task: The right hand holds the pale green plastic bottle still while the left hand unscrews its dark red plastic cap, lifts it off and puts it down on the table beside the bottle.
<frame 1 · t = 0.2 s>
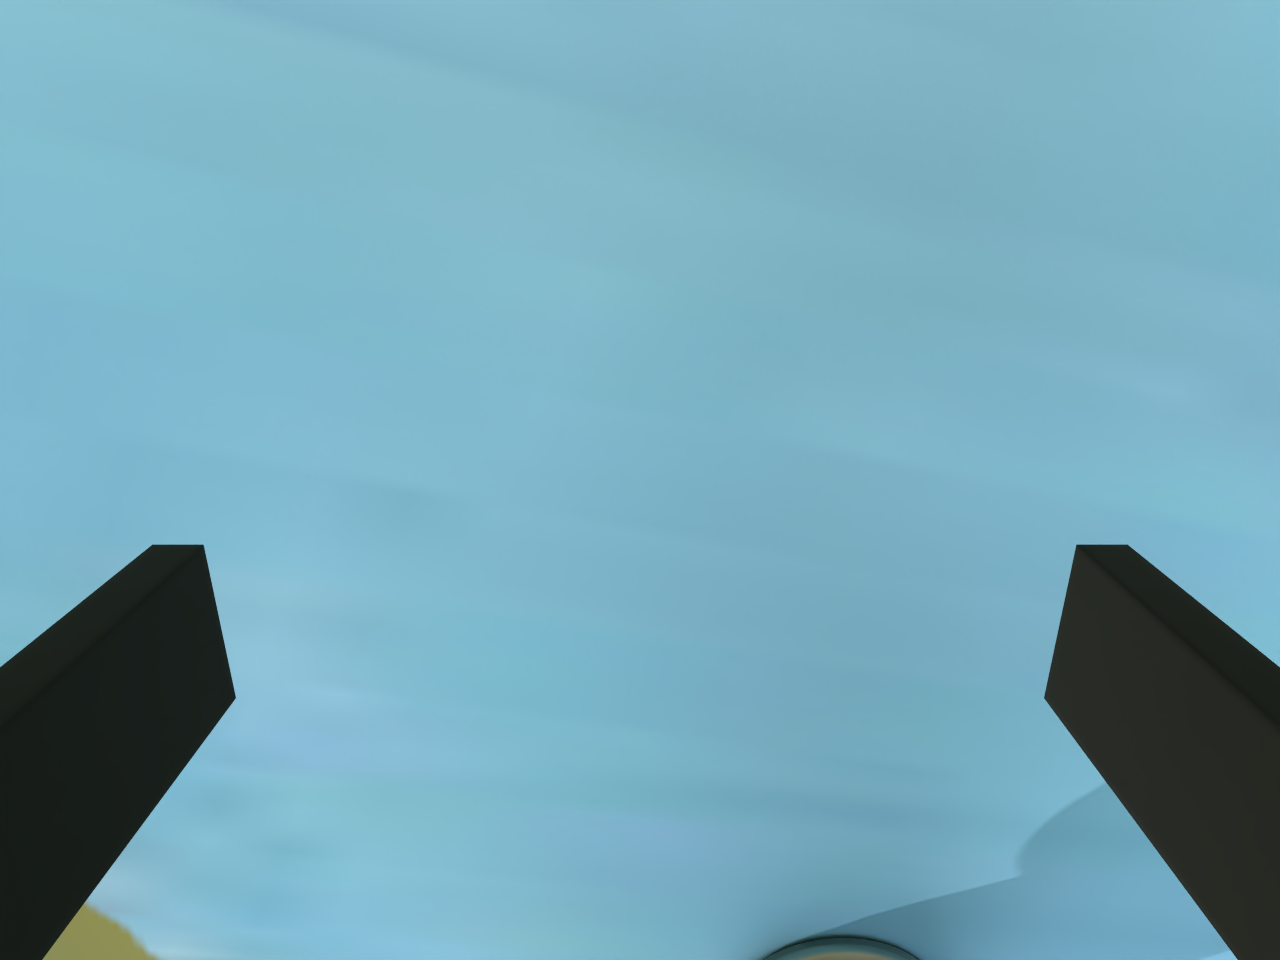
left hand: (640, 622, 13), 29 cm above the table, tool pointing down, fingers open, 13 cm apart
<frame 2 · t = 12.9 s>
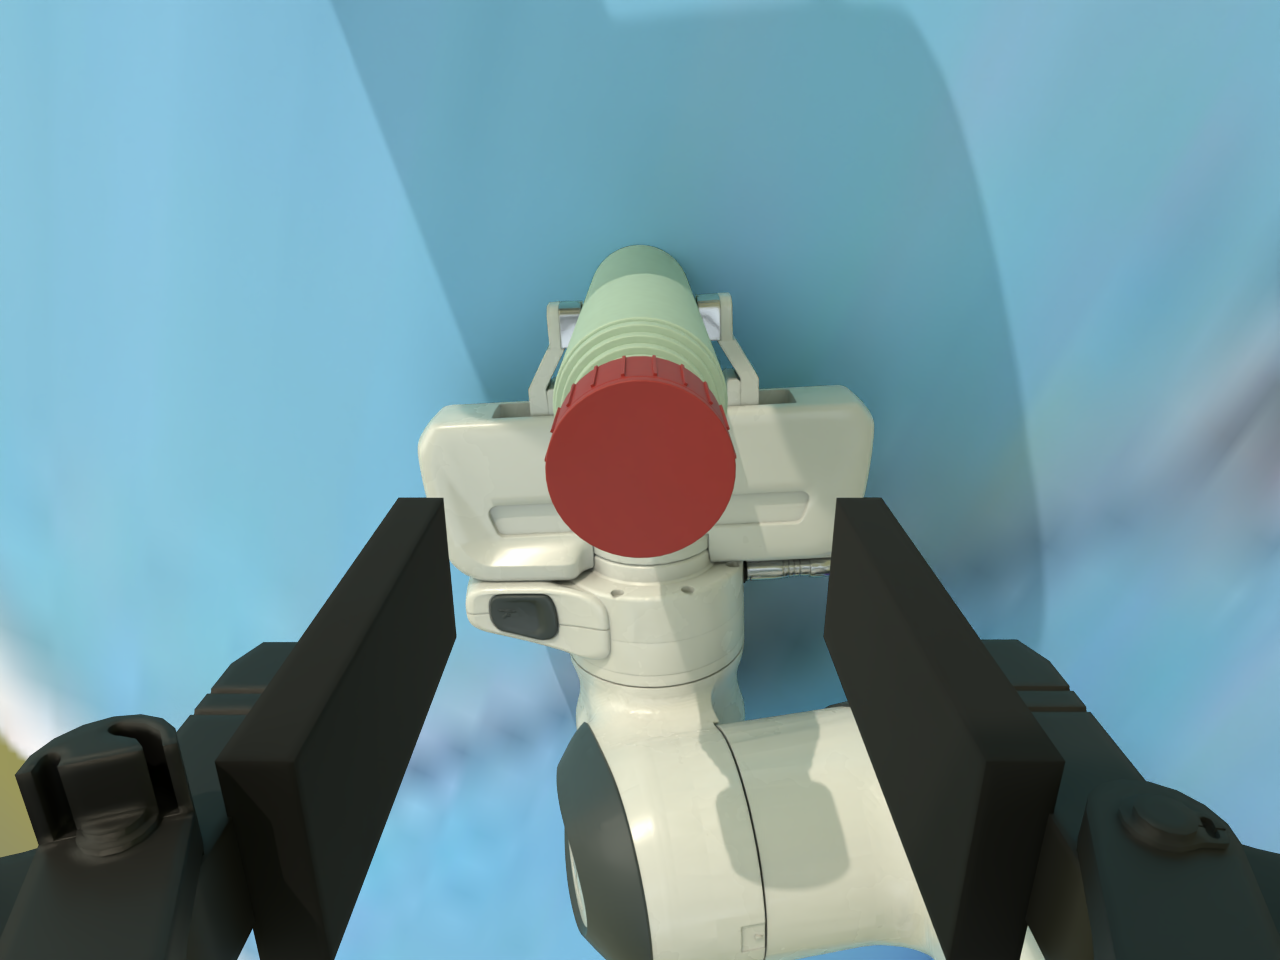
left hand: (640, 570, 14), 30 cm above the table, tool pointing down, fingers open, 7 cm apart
right hand: (637, 298, 36), fingers closed on bottle, 5 cm apart
cap: (640, 468, 19), point 25 cm above the table, screwed on, not yet turned
bottle: (639, 296, 42), on the table, touching right hand
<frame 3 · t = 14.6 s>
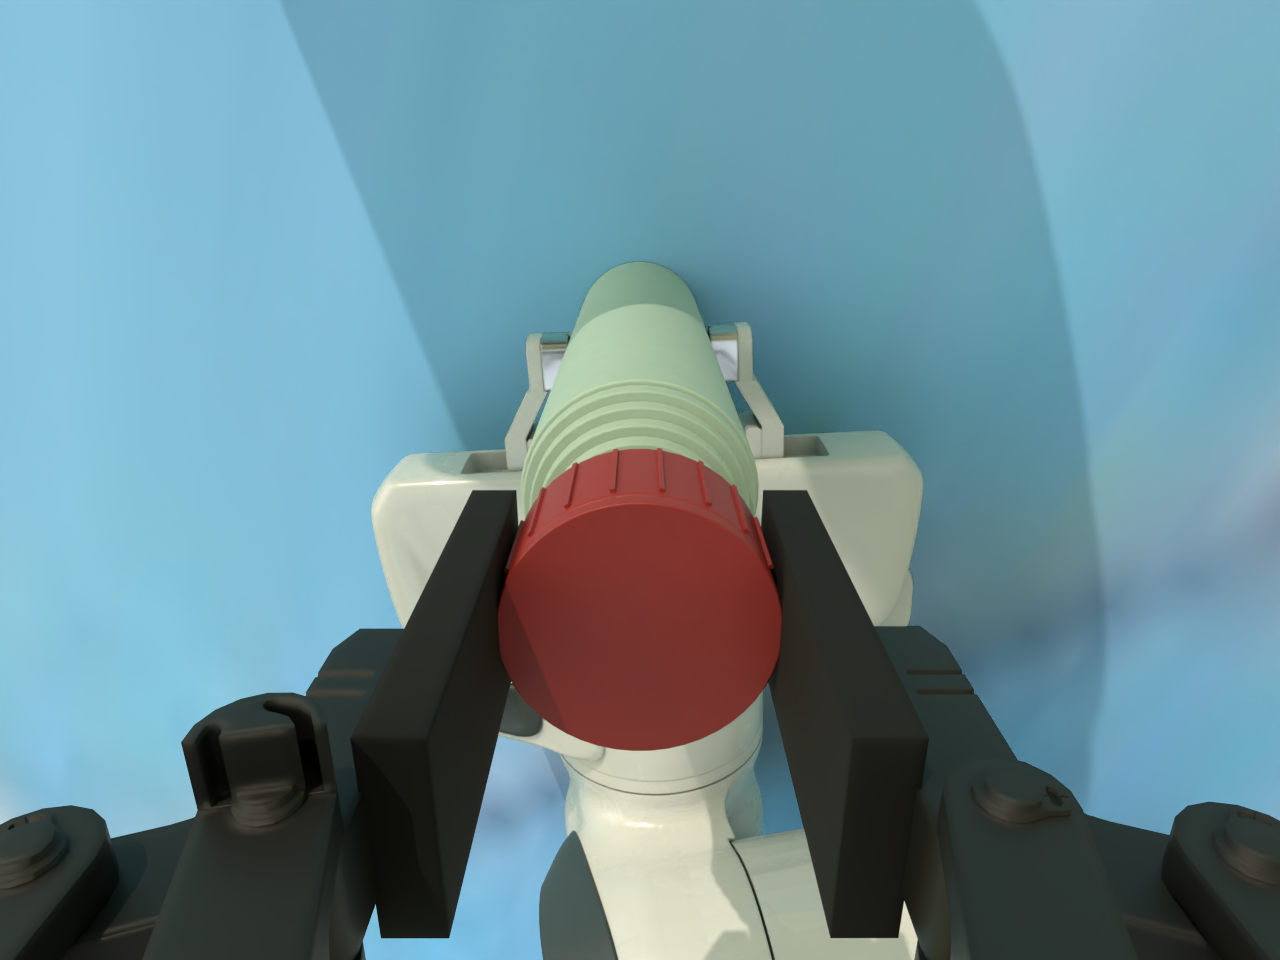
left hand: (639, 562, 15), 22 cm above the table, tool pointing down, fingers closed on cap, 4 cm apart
right hand: (637, 330, 30), fingers closed on bottle, 5 cm apart
cap: (639, 624, 13), point 25 cm above the table, screwed on, not yet turned, touching left hand
bottle: (639, 321, 36), on the table, touching right hand
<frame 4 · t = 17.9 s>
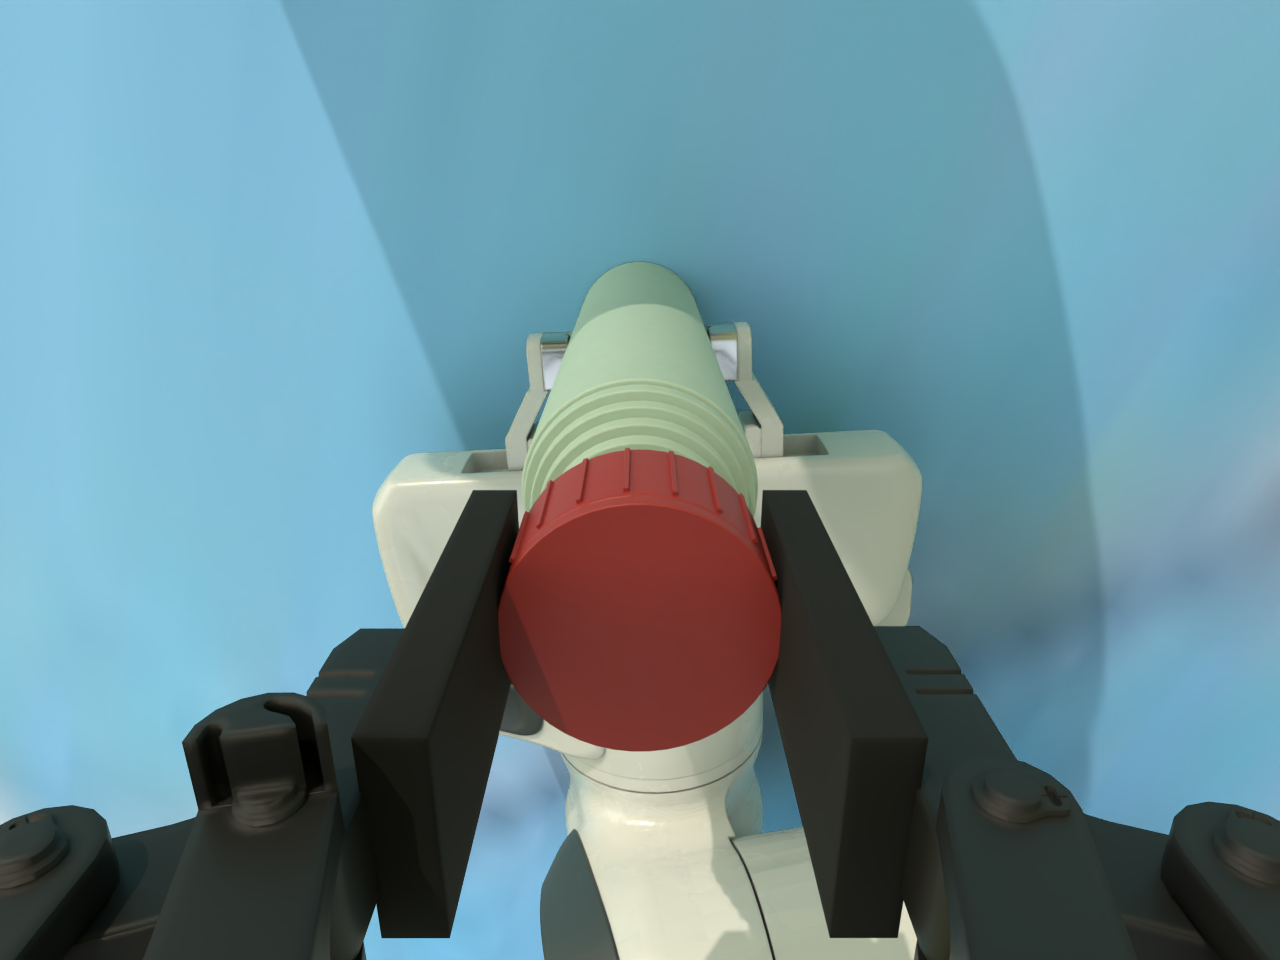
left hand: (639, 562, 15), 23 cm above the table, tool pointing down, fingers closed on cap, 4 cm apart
right hand: (637, 329, 30), fingers closed on bottle, 5 cm apart
cap: (639, 625, 13), point 25 cm above the table, turned 90° so far, risen 0.1 cm, still on its thread, touching left hand
bottle: (639, 321, 36), on the table, touching right hand
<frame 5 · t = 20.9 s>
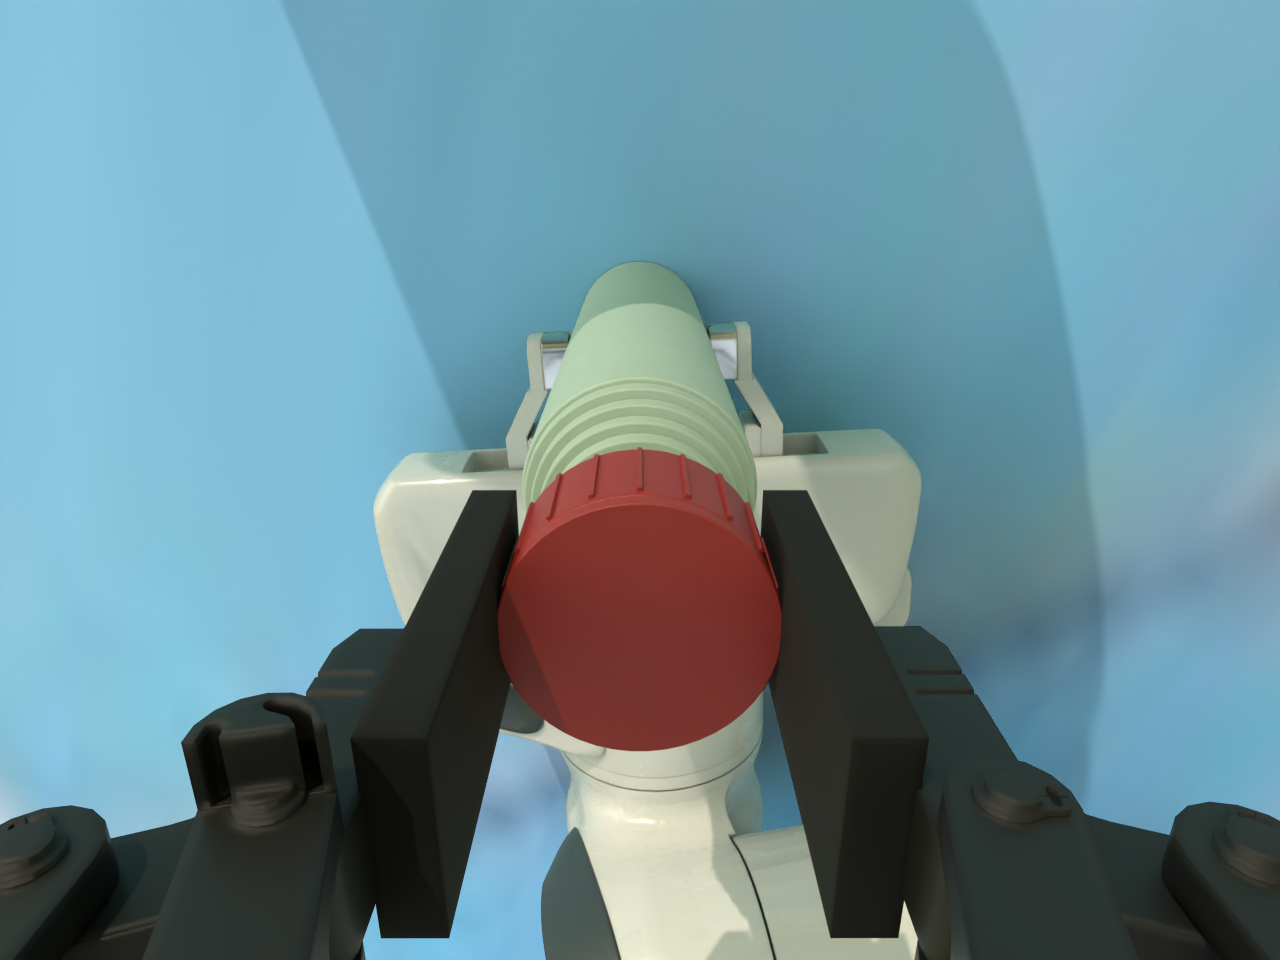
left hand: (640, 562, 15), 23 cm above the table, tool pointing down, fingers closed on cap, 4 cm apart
right hand: (637, 329, 30), fingers closed on bottle, 5 cm apart
cap: (639, 625, 13), point 25 cm above the table, turned 179° so far, risen 0.2 cm, still on its thread, touching left hand
bottle: (639, 321, 36), on the table, touching right hand
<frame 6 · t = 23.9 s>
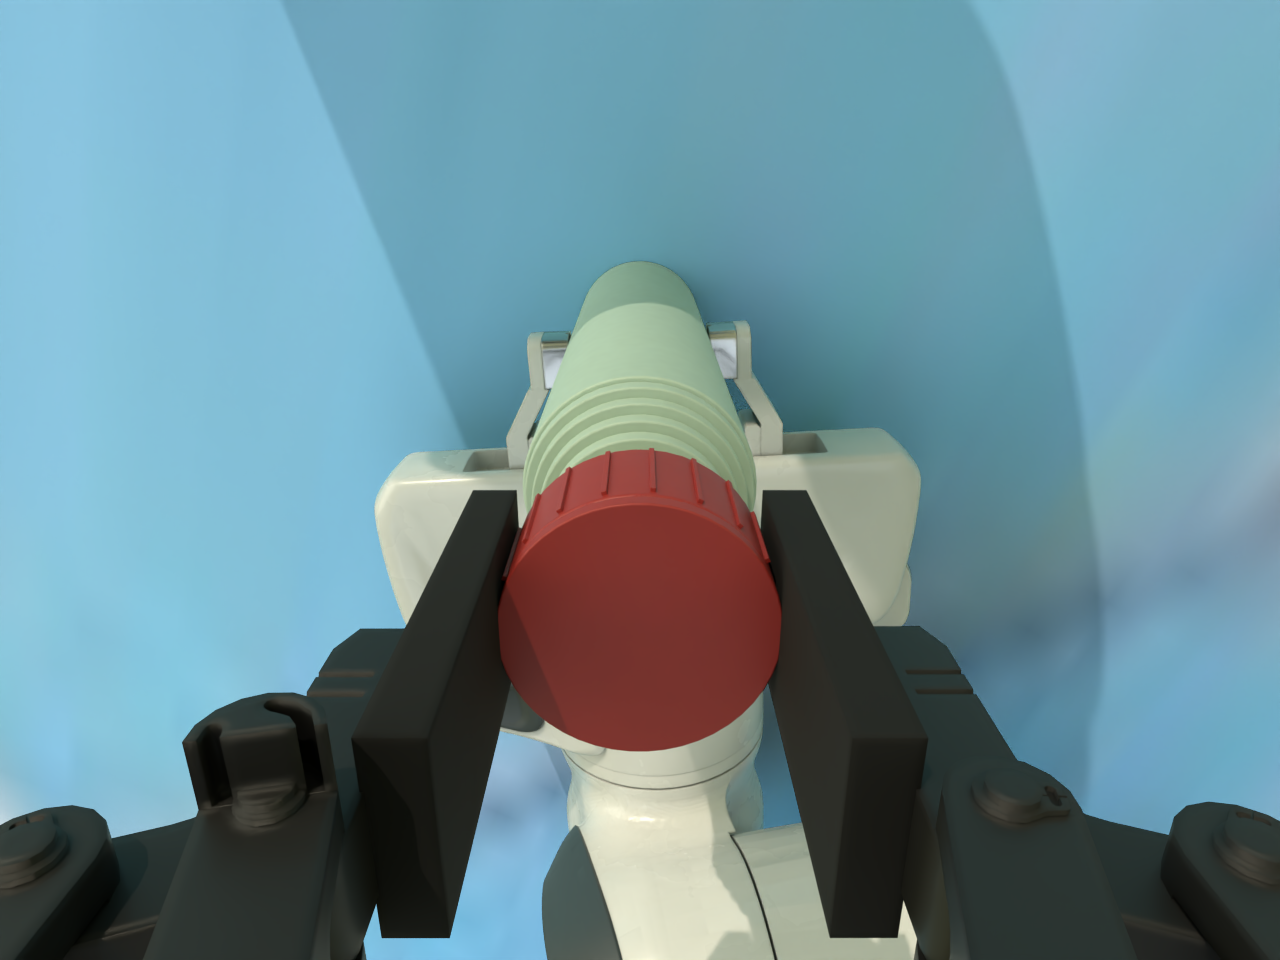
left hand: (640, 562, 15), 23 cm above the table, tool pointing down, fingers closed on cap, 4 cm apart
right hand: (637, 328, 30), fingers closed on bottle, 5 cm apart
cap: (639, 625, 13), point 25 cm above the table, turned 268° so far, risen 0.3 cm, still on its thread, touching left hand
bottle: (639, 320, 36), on the table, touching right hand
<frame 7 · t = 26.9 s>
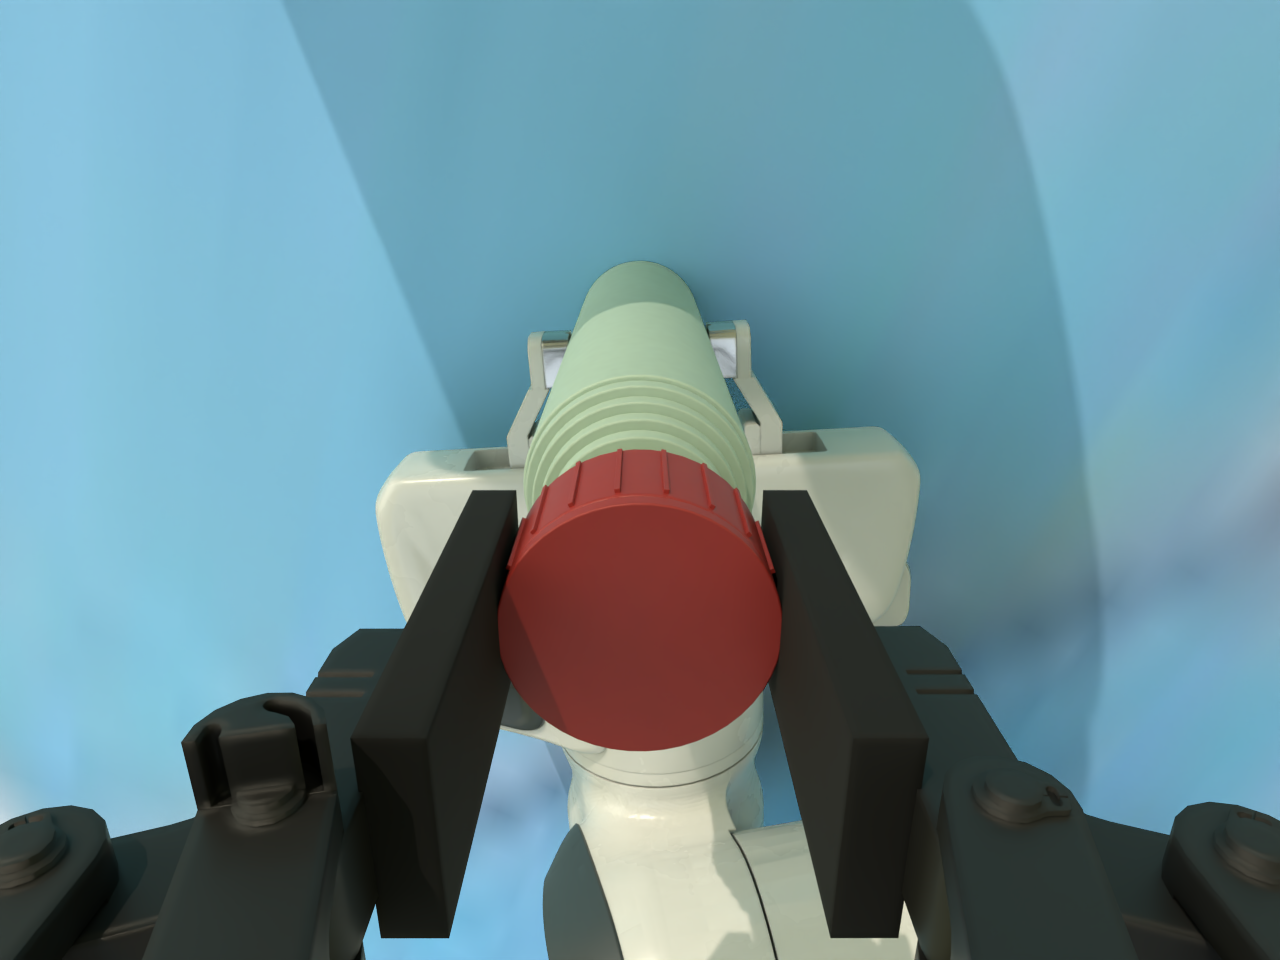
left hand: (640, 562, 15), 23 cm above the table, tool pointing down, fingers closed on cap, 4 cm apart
right hand: (637, 328, 30), fingers closed on bottle, 5 cm apart
cap: (639, 625, 13), point 25 cm above the table, turned 358° so far, risen 0.4 cm, still on its thread, touching left hand
bottle: (639, 320, 36), on the table, touching right hand
when the left hand's fingers open (1 cm above the table, at t = 37.4 s): cap drops 1 cm, point 2 cm above the table.
when the right hand's fingers open (6 cm above the table, at t = 38.7 s): bottle stays where it is, on the table.
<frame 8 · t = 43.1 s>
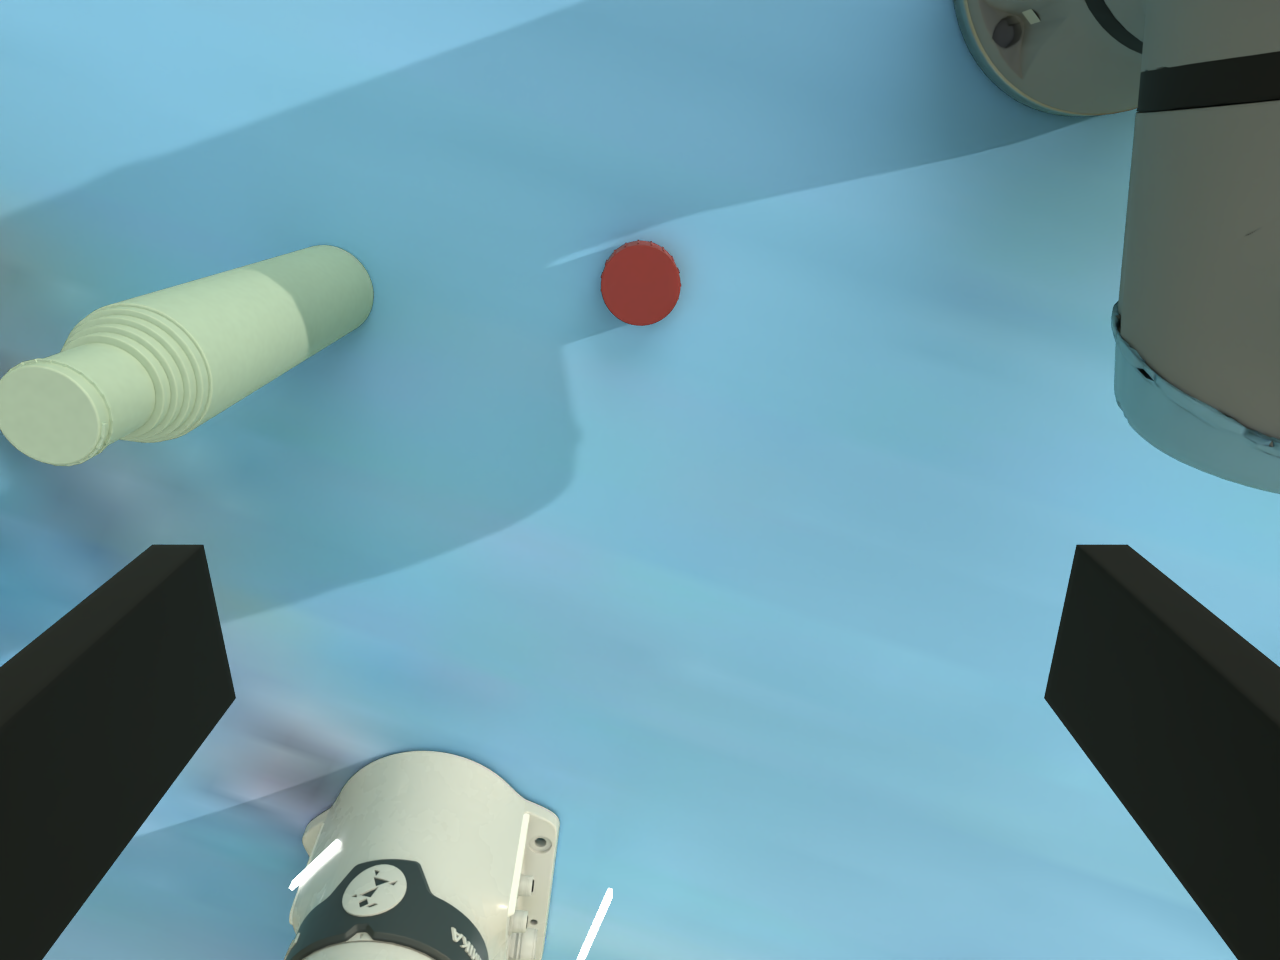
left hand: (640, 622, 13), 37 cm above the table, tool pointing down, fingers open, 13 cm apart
cap: (640, 285, 46), point 2 cm above the table, off its thread
bottle: (329, 290, 48), on the table
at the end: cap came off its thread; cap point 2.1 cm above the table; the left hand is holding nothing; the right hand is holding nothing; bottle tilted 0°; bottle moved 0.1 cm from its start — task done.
